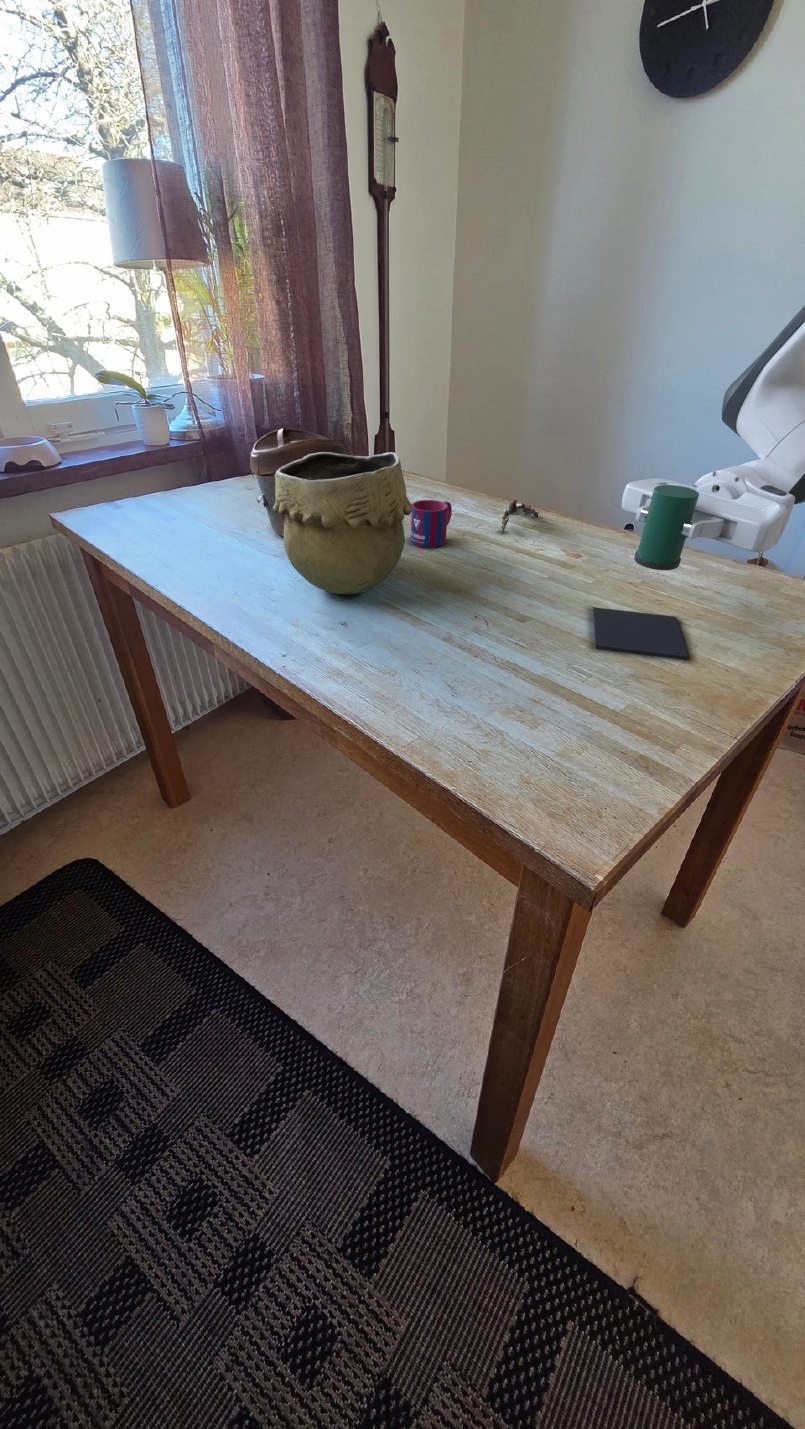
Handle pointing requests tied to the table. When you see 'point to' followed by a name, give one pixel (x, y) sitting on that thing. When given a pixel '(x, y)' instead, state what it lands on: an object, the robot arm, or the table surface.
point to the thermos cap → (666, 527)
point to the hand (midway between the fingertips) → (663, 523)
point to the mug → (429, 523)
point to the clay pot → (343, 518)
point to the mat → (638, 633)
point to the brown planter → (284, 462)
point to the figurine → (516, 512)
